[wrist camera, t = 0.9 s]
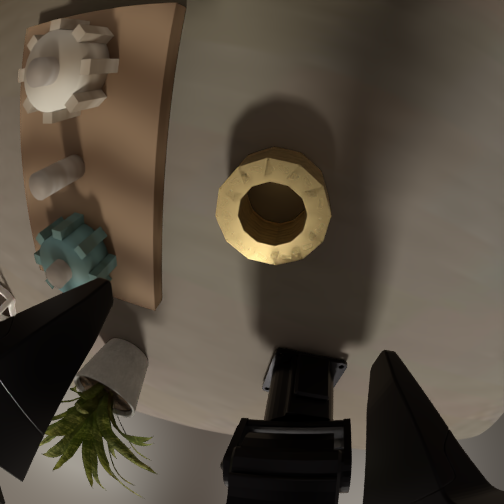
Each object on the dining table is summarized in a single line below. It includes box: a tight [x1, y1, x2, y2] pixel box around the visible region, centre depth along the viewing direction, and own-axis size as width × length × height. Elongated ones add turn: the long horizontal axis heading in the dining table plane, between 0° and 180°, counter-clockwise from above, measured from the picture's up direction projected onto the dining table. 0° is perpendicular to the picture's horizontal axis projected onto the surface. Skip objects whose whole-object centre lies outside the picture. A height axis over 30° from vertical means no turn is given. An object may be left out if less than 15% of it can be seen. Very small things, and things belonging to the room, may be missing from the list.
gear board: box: [18, 3, 186, 311], centre depth 17 cm, size 22×13×6 cm, turn 170°
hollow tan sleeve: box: [216, 146, 331, 265], centre depth 17 cm, size 6×6×3 cm
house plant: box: [39, 338, 155, 493], centre depth 24 cm, size 14×14×16 cm
